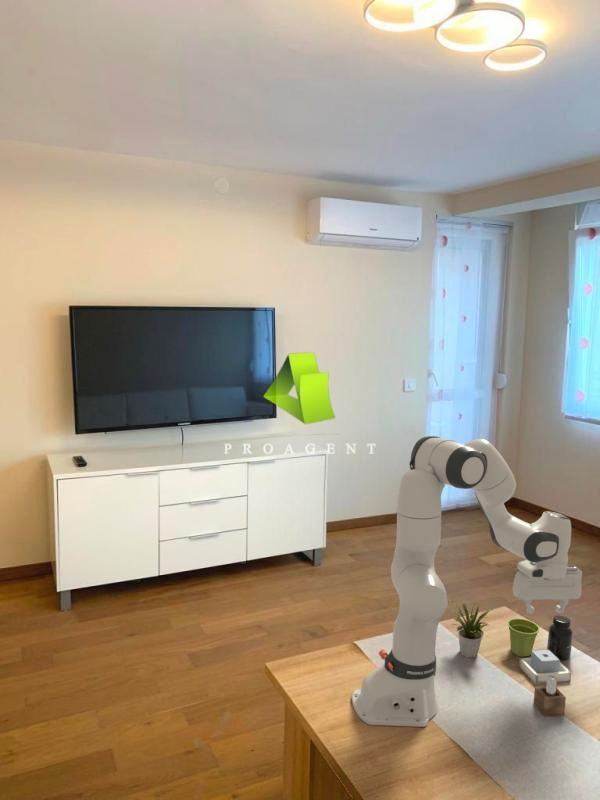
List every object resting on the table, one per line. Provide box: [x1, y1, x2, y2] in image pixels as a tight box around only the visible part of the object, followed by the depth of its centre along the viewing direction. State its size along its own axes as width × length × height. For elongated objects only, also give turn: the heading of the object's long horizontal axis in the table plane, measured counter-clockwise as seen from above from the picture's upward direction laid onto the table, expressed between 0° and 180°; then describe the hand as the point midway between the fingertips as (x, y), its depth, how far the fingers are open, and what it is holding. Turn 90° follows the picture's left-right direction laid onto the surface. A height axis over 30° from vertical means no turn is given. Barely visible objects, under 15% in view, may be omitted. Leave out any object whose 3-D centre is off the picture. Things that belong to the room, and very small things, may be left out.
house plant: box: [449, 599, 494, 658], centre depth 194 cm, size 14×14×16 cm
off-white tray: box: [518, 657, 572, 684], centre depth 185 cm, size 11×9×2 cm
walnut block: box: [533, 685, 567, 718], centre depth 167 cm, size 6×6×5 cm
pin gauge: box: [545, 676, 558, 697], centre depth 167 cm, size 2×2×9 cm
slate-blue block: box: [530, 649, 561, 674], centre depth 184 cm, size 6×6×5 cm
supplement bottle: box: [546, 615, 574, 662], centre depth 194 cm, size 7×7×12 cm
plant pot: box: [507, 618, 540, 658], centre depth 196 cm, size 9×9×9 cm
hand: (544, 612), depth 184 cm, fingers open, 8 cm apart
